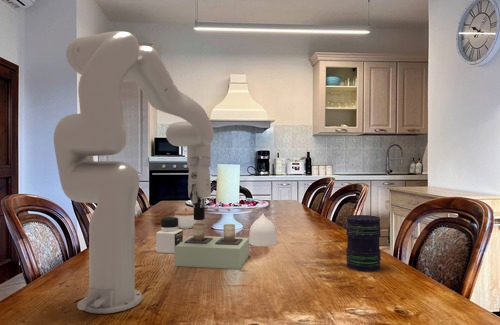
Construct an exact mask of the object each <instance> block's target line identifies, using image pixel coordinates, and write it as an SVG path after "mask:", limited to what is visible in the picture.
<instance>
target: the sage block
mask: <svg viewBox="0 0 500 325" xmlns="http://www.w3.org/2000/svg"><path fill="white" fill-rule="evenodd" d="M249 256H250V244H249V237H244V236H243V237H242V236H241V237H239V236H238V237H237V236H235V243H231V242H224V236H211V235H210V236H209V235H208V236H206V235H205V241H204V242H203V241H193V235H191V236H190V237H188V238H186V239H183V242H181V243H180V244H178V245H176V246H175V253H174V266H175V267H185V268H187V267H189V268H205V269H207V268H209V269H228V270H229V269H231V270H241V268H242V266H244V263H246V261H247V260H248V258H249Z"/></svg>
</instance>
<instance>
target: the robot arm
mask: <svg viewBox="0 0 500 325" xmlns="http://www.w3.org/2000/svg"><path fill="white" fill-rule="evenodd" d="M65 53H66V54H65V55H66V60H67V62H68V65H69V66H70V67H71V68H72V70H73V71H75V72H76V73H77V74H79V75H80V78H79V81H78V86H77V87H78V89H77V90H78V91H77V92H78V102H79V104H78V105H79V113H72V114H68V115H66V116H64V117H62V118H61V119H60V120H59V121H58V122H57V124H56V126H55V128H54V132H53V146H54V153H55V159H56V163H57V164H56V165H57V171H58V175H59V181H60V185H61V189H62V192H63V193H64V195H66V197H67V198H68V199H69V200H71V201H73V202H76V203H84V204H96V207H95V209H94V210H93V213H92V214H91V217H90V220H89V226H88V235H89V236H88V238H89V241H88V244H89V246H88V250H89V252H88V253H89V254H88V255H89V256H88V257H89V258H88V262H89V264H88V268H89V269H88V270H89V271H88V274H89V275H88V276H89V277H88V278H89V279H88V281H89V282H88V284H89V286H88V287H89V288H88V289H87V295H86V296H85V297H83V299H81V300H79V301H78V302H77V308H78V309H77V310H80V311H85V312H87V313H91V314H100V315H101V314H104V315H105V314H113V313H114V314H115V313H119V312H123V311H126V310H129V309H132V308H134V307H136V306H138V305H139V304H141V302H142V300H143V295H142V292H141V291H139V290H137V289H136V286H135V285H136V280H135V279H136V270H135V267H136V266H135V264H136V263H135V262H136V260H135V258H136V257H135V256H136V255H135V253H136V249H135V247H136V246H135V244H136V243H135V242H136V241H135V240H136V239H135V238H136V237H135V235H136V234H135V230H136V229H135V226H136V223H135V220H136V218H135V217H136V206H137V198H138V194H139V190H140V177H139V173H138V171H137V170H136V168H135V167H133V166H132V165H131V164H129V163H127V162H123V161H118V160H106V161H105V160H99V161H94V157H104V156H113V155H117V154H120V153H121V152H122V151H124V149H125V147H126V145H127V134H126V126H125V125H126V123H125V117H124V109H123V102H122V87H123V82H124V83H126V82H135V83H136V84H137V86H138V87H139V88H140V90H141V92H142V93H143V94H144V96H145V98H146V100H147V101H148V103H149V104H150V106H152V108H153V109H155V110H158V111H159V112H163V113H166V114H169V115H172V116H175V117H178V118H180V119H183V120H185V121H175V122H173V123H171V124H169V125H168V127H167V128H166V131H165V137H166V140H167V141H168V143H169V144H171V146H175V147H180V148H182V147H186V163H187V164H186V168H188V179H187V182H188V183H187V184H188V185H187V191H188V194H187V195H188V198H189V199H191V203H192V204H193V206H192V207H193V211H194V220H196V221H203V220H205V219H206V218H205V216H206V215H205V214H206V208H205V205H206V198H210V197H211V196H212V186H211V185H212V184H211V171H210V168H211V167H212V166H211V165H212V164H211V162H212V161H211V143H212V142H213V140H214V136H215V133H214V128H213V124H212V122H211V120H210V118H209V116H208V113H207V112H206V111H205V109H204V108H203V107H202V105H201V104H199V103H198V102H197V101H196V100H195V99H193V98H191V97H189V96H188V95H187V94H184V93H183V92H181V90H179V88H178V87H177V85H176V83H175V82H174V80H173V78H172V76H171V75H170V73H169V71H168V68H167V67H166V65H165V64H164V61H163V60H162V58H161V56H160V54H159V53H158V52H157V50H156V49H155V48H154V47H152V46H150V45H139V41H138V39H137V37H136V36H135V35H134V34H133V33H131V32H129V31H123V30H122V31H121V30H116V31H108V32H102V33H98V34H97V33H96V34H92V35H86V36H85V35H84V36H81V37H76V38H75V39H73V40H72V41H70V43H68V45H67V47H66V52H65Z"/></svg>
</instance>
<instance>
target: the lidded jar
mask: <svg viewBox="0 0 500 325" xmlns="http://www.w3.org/2000/svg"><path fill="white" fill-rule="evenodd" d="M174 217H177V218H178V228H179V229H182V230H183V229H184V230H187V229H188V230H189V228H190V229H192V228H193V224H196V223H197V220H194V209H193V210H190V209H189V210H188V208H187V207H186V208H184V210H177V211H175V212H174Z"/></svg>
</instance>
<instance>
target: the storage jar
mask: <svg viewBox="0 0 500 325" xmlns="http://www.w3.org/2000/svg"><path fill="white" fill-rule="evenodd" d="M345 227H346V228H345V229H346V232H345V234H346V236H347V238H346V239H347V242H346V243H347V244H346V246H347V247H346V250H345V258H346V268H347V269H348V270H352V271H355V272H361V273H374V272H375V273H376V272H379V271H380V270H381V261H382V257H381V254H382V252H381V249H380V238H381V235H382V234H381V229H382V228H381V217H379V216H376V215H369V214H368V215H367V214H365V215H364V214H352V215H351V214H350V215H346V225H345Z"/></svg>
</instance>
